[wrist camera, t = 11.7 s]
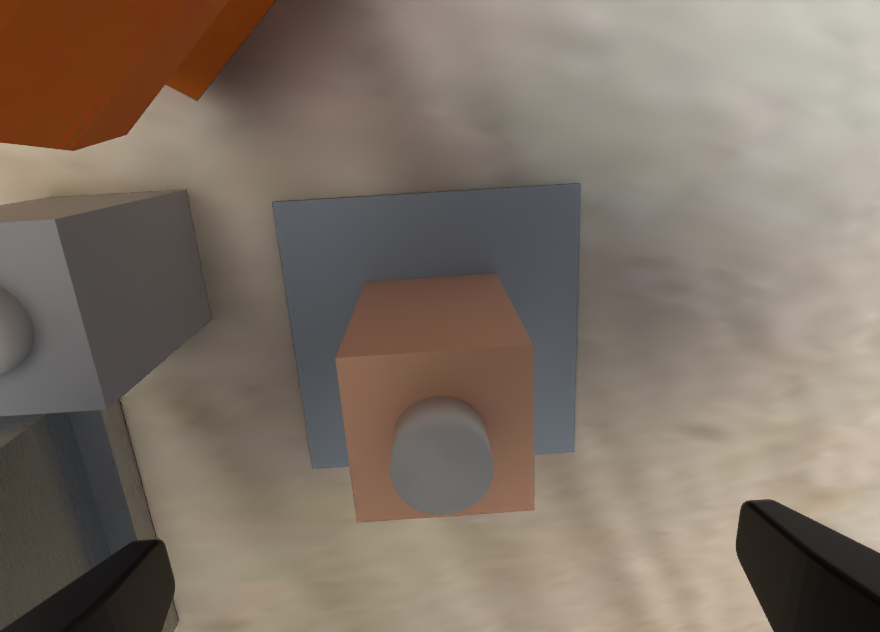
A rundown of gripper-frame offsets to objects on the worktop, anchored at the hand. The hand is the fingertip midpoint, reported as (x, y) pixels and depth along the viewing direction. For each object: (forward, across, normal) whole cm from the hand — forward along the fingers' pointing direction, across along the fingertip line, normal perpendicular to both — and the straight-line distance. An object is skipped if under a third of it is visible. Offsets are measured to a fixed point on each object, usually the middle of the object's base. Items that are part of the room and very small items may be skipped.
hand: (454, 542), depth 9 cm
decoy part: (+10, +9, -3) cm, 13 cm away
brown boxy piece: (+9, 0, 0) cm, 9 cm away
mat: (+10, 0, 0) cm, 10 cm away
